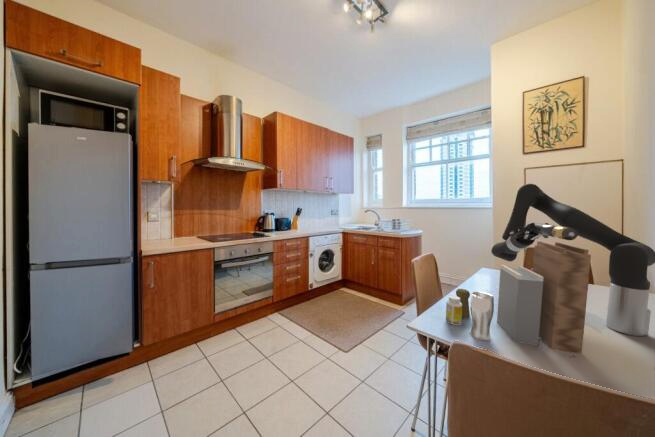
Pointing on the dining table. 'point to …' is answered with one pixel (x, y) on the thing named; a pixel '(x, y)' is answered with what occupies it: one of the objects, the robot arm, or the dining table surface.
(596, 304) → the dining table surface
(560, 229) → the black gold-banded rod
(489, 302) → the beer glass
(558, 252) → the tall stand
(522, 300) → the grey magazine holder
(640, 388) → the dining table surface
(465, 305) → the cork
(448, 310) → the supplement bottle
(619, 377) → the dining table surface
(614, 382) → the dining table surface
